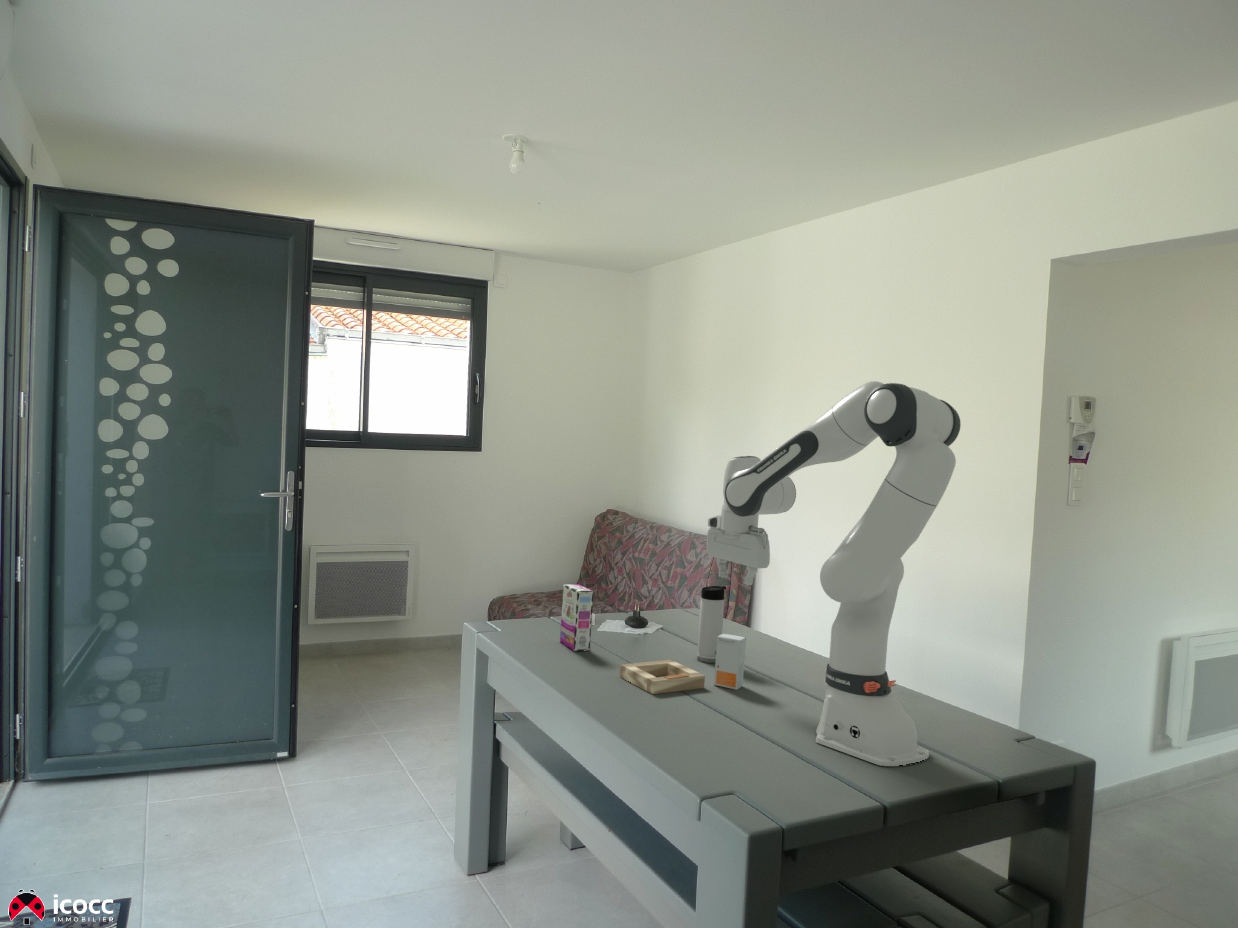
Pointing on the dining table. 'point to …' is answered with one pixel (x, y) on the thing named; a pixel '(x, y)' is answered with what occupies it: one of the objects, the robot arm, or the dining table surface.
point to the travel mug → (710, 622)
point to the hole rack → (675, 680)
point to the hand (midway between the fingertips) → (735, 581)
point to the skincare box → (730, 661)
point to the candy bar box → (576, 617)
